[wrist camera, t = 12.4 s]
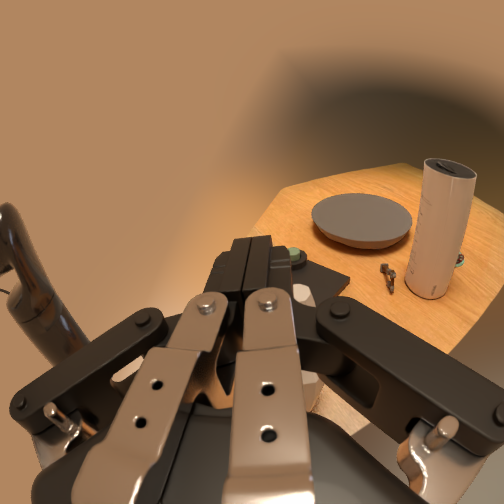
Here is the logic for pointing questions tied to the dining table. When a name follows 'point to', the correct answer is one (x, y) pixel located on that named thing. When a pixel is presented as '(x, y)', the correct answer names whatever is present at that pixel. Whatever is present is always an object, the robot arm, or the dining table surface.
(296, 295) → the low poly bottle
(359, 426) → the dining table surface
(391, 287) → the jointed metal bracket
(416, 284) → the speaker
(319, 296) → the scale
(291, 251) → the button
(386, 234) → the flat disc
